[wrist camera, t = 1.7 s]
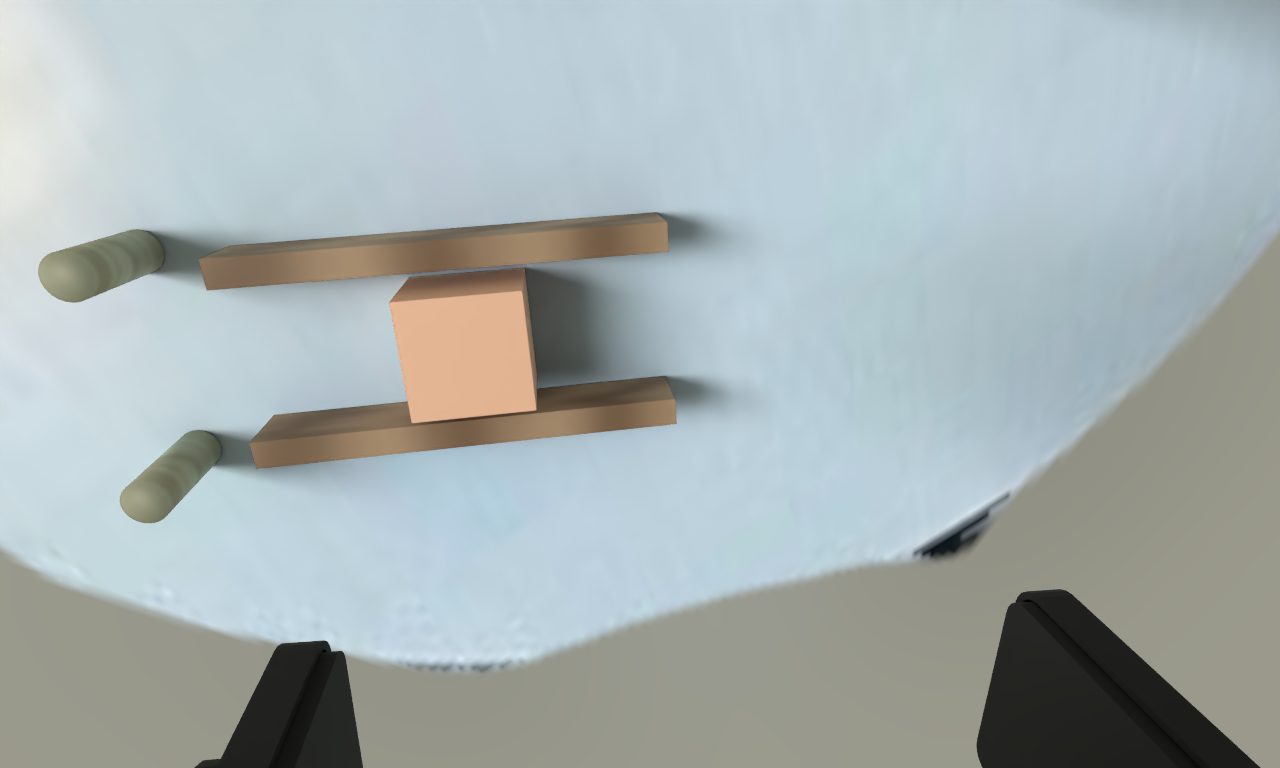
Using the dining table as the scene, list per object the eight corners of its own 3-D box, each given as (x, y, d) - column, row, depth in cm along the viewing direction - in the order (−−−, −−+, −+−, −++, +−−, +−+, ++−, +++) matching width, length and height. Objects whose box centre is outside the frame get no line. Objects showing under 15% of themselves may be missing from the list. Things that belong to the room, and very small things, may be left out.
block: (524, 267, 32) (522, 290, 28) (536, 373, 34) (536, 410, 30) (409, 277, 32) (389, 302, 28) (428, 384, 34) (411, 423, 29)
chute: (655, 190, 32) (674, 203, 27) (666, 417, 36) (685, 463, 31) (110, 231, 30) (30, 253, 25) (185, 468, 34) (128, 525, 29)
